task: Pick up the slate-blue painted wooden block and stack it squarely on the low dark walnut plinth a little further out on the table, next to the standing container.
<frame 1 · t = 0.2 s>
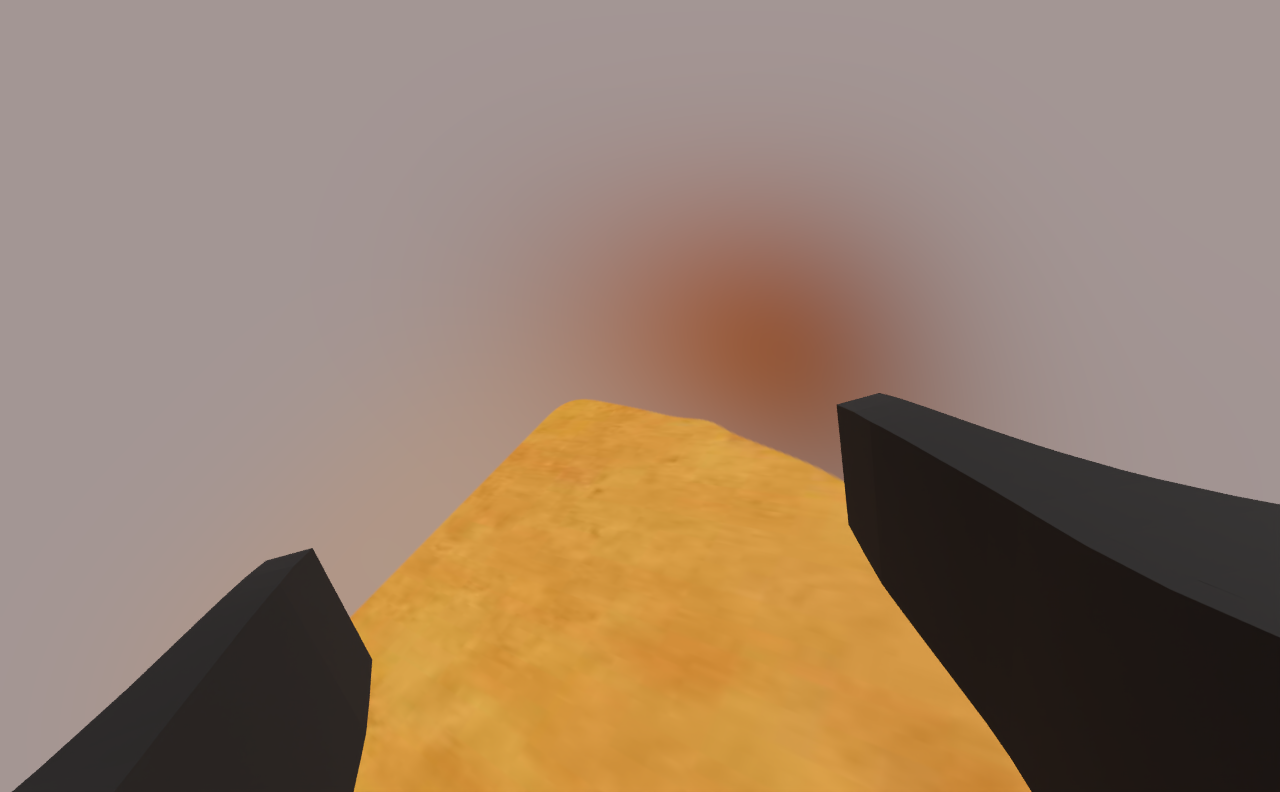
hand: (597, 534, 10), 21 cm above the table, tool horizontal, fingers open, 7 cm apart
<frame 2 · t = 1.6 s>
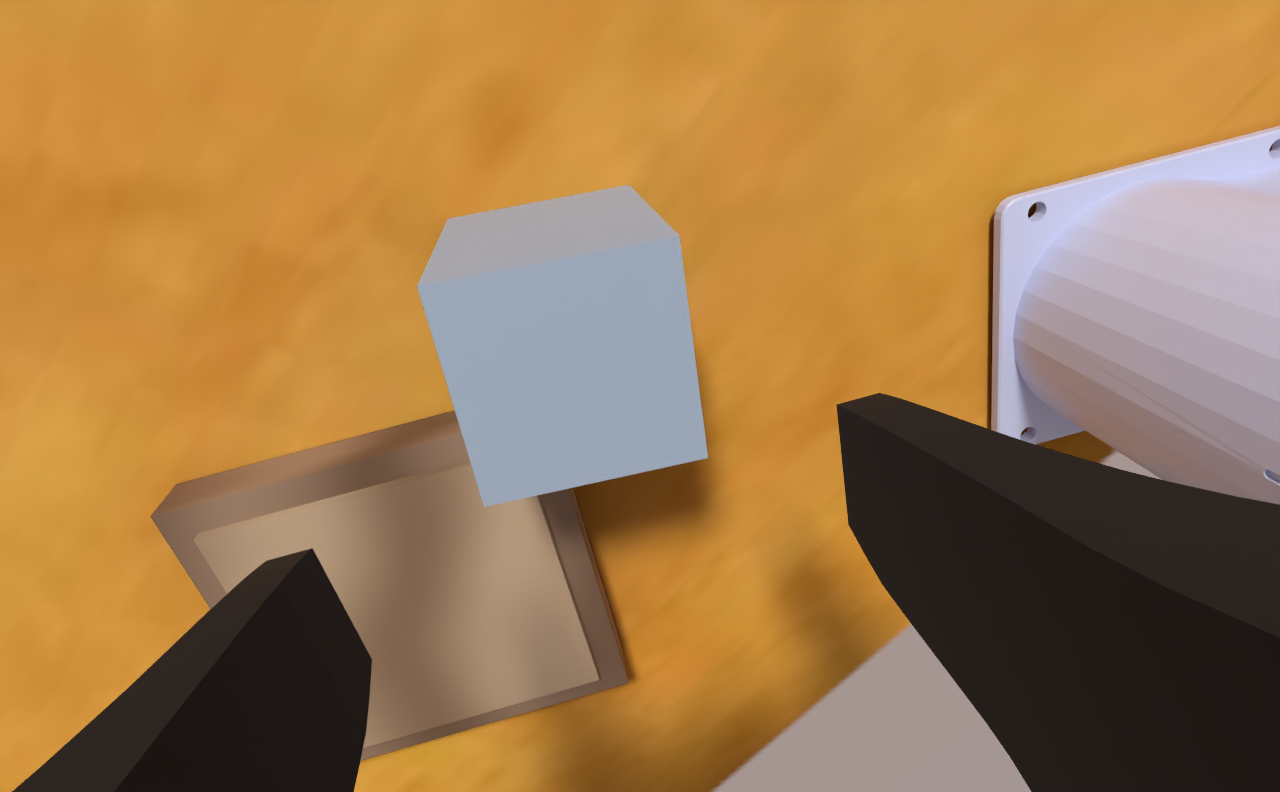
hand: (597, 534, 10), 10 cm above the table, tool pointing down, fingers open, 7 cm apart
walnut plinth: (425, 575, 21), on the table
blue block: (557, 288, 18), on the table
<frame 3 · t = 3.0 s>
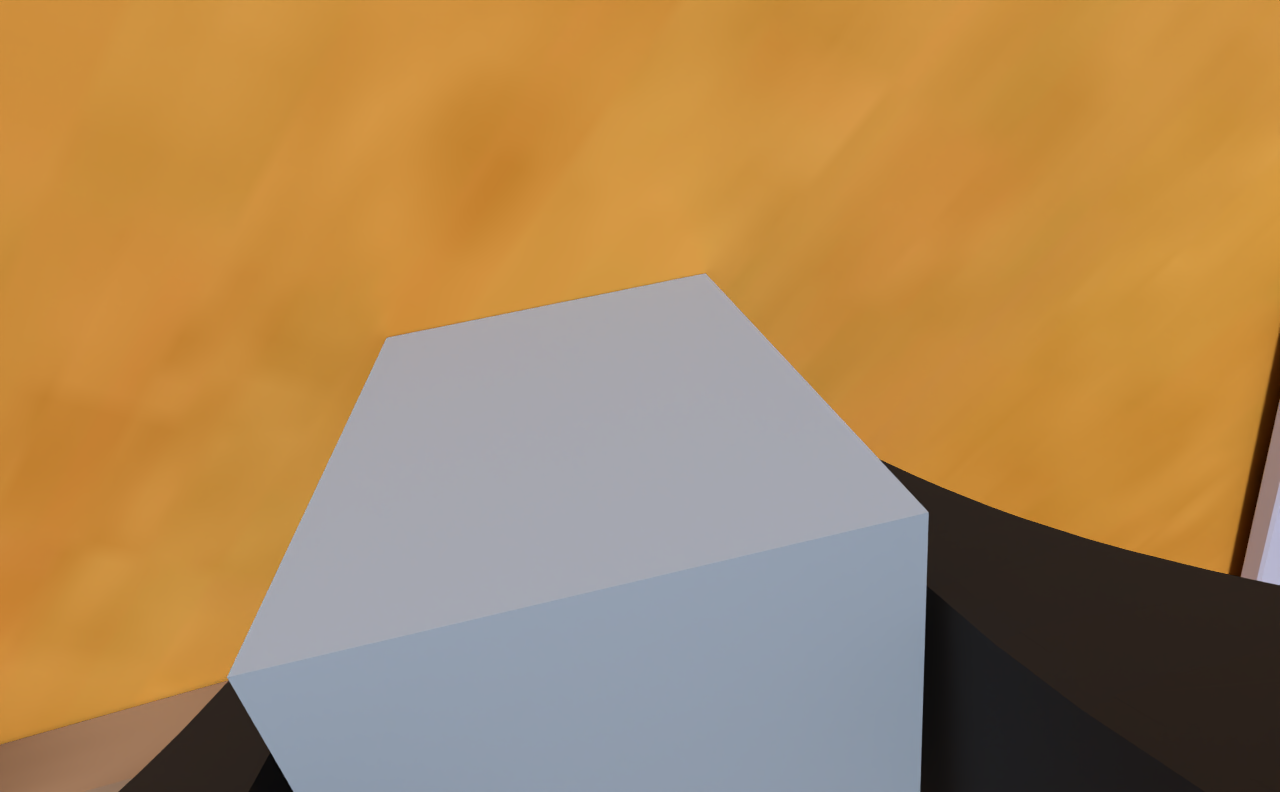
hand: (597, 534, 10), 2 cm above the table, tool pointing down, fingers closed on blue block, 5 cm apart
blue block: (580, 443, 11), on the table, touching gripper
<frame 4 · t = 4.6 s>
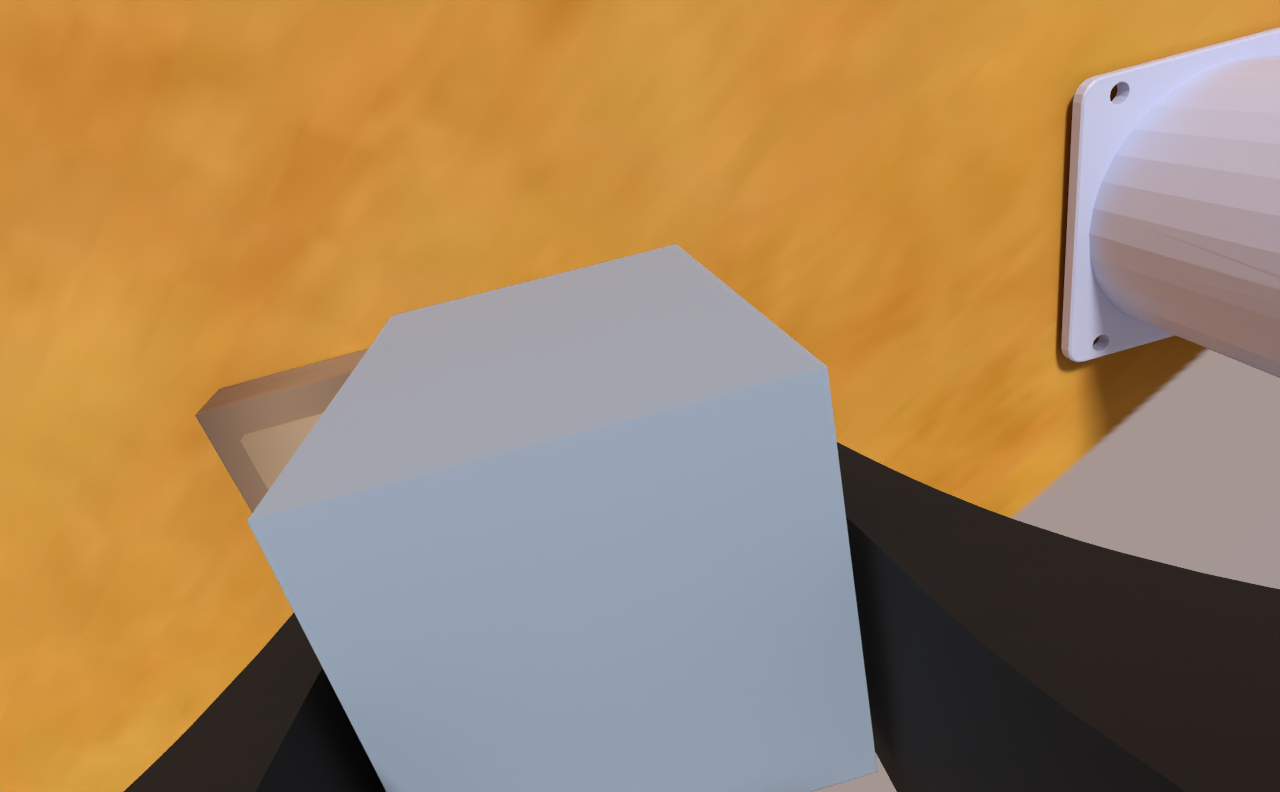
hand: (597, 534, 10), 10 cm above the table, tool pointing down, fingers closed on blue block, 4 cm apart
walnut plinth: (473, 493, 20), on the table
blue block: (572, 409, 12), point 7 cm above the table, touching gripper
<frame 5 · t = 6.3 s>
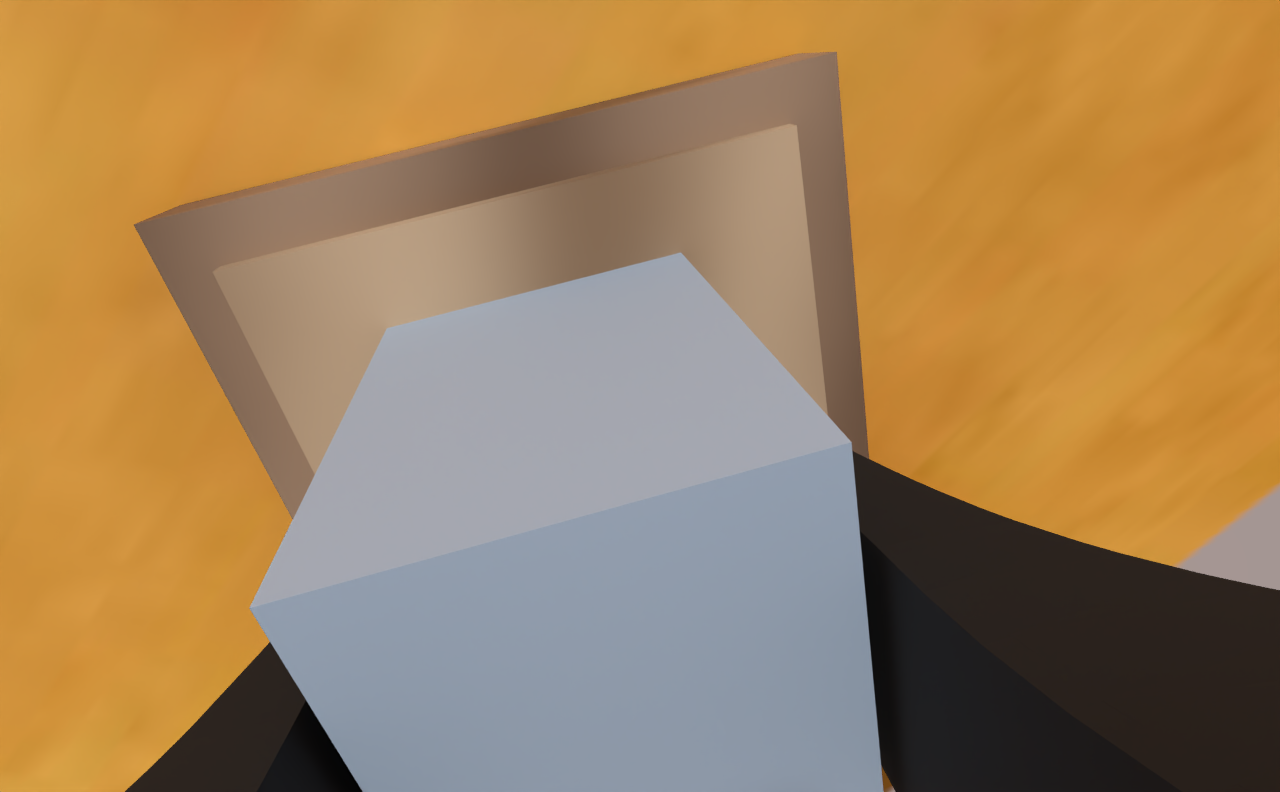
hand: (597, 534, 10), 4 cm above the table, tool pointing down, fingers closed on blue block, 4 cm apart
walnut plinth: (575, 402, 13), on the table
blue block: (573, 419, 11), point 2 cm above the table, touching gripper, walnut plinth
when the fingers open (4 cm above the table, at t = 6.8 s): blue block stays where it is, resting on walnut plinth.
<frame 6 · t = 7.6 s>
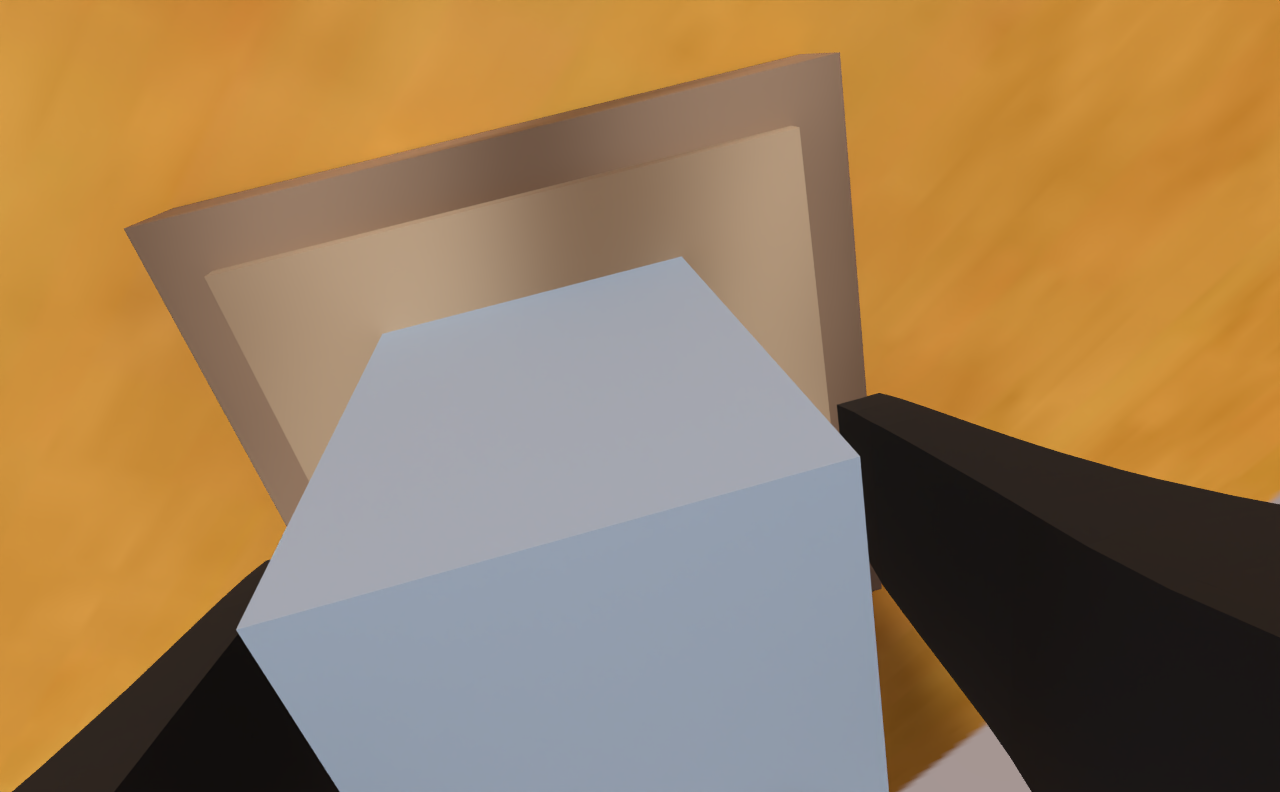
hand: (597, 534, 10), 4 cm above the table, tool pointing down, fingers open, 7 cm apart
walnut plinth: (574, 407, 13), on the table
blue block: (572, 425, 11), point 2 cm above the table, touching walnut plinth
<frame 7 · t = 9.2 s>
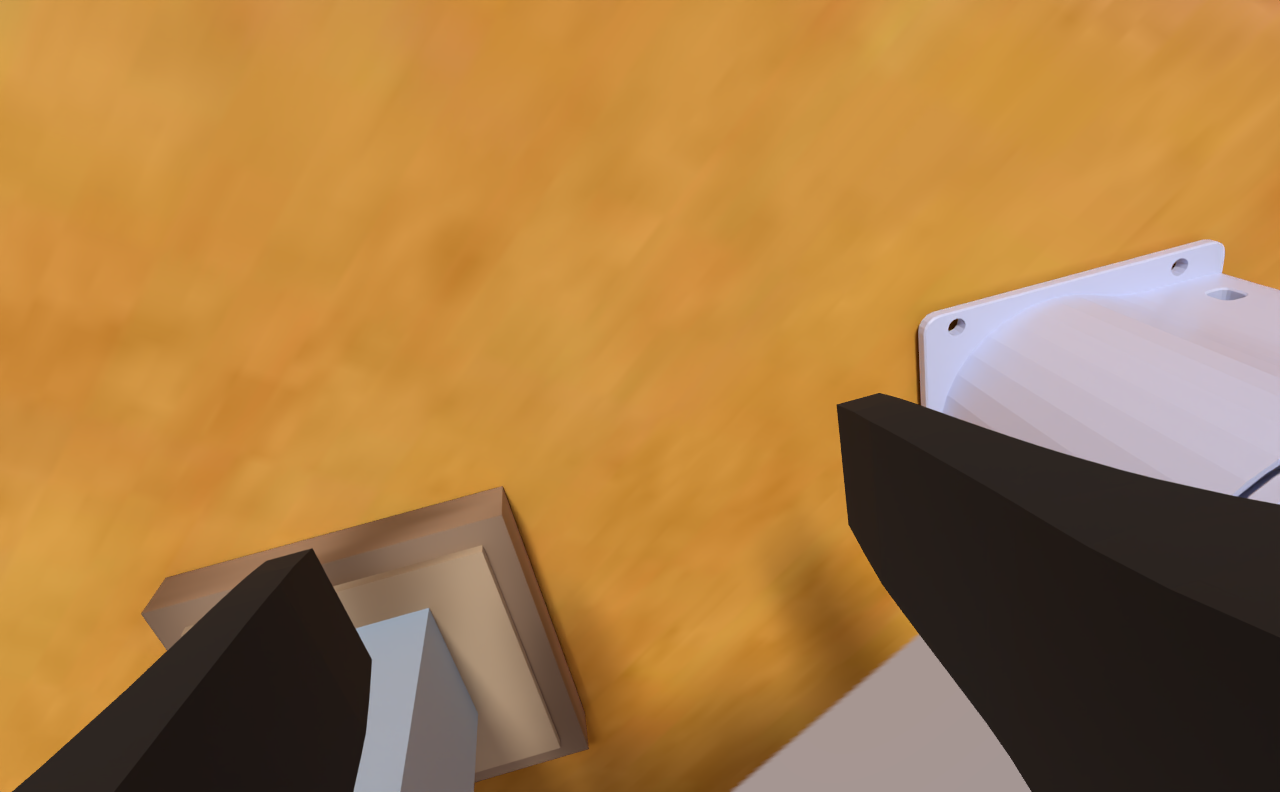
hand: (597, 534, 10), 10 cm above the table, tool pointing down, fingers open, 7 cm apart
walnut plinth: (397, 652, 23), on the table
blue block: (380, 684, 21), point 2 cm above the table, touching walnut plinth
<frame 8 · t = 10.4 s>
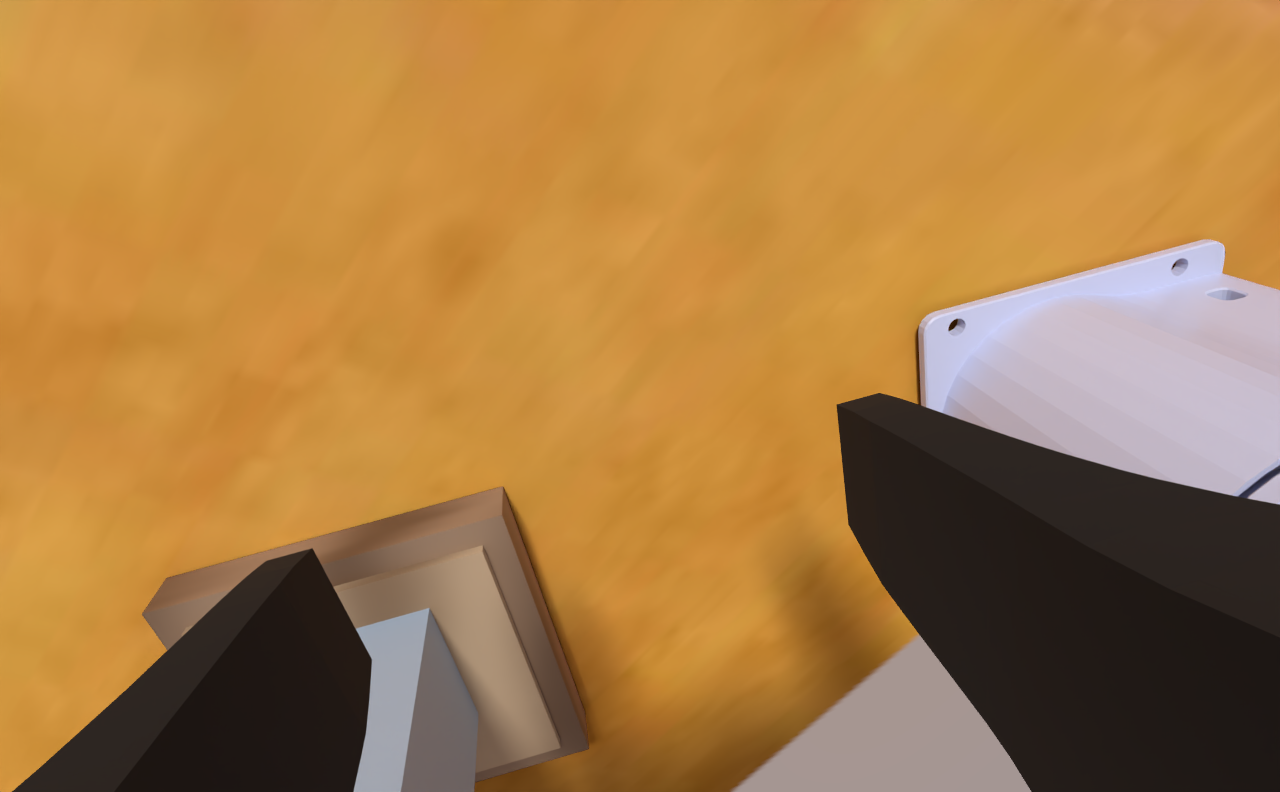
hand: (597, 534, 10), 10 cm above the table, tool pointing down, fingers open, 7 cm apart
walnut plinth: (398, 652, 23), on the table
blue block: (381, 684, 21), point 2 cm above the table, touching walnut plinth
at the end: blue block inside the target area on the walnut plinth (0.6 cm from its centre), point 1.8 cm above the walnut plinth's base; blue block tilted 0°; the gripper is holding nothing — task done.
